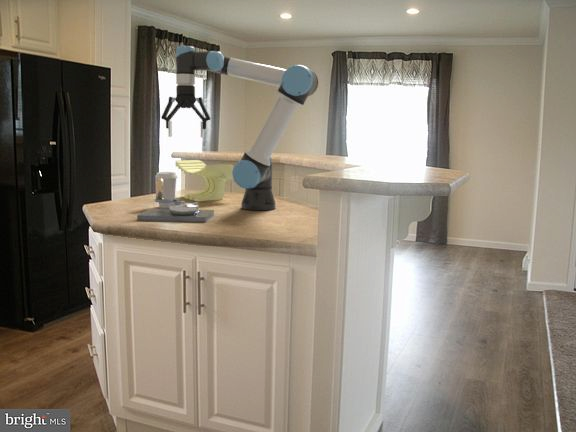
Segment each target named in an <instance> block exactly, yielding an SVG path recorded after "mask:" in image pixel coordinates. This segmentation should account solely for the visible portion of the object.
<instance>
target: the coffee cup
mask: <svg viewBox="0 0 576 432" xmlns="http://www.w3.org/2000/svg"><path fill="white" fill-rule="evenodd" d="M154 178H155V180H156V179H163V191H164V199H167V200H173V199H176V189H177V188H176V185H177V179H178V175H177V174H176V172H171V171H170V172H169V171H163V172H162V171H160V172H156V175H155V176H154ZM158 207H159V209H170V204H168V203H159V202H158Z"/></svg>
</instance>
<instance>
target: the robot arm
mask: <svg viewBox="0 0 576 432" xmlns="http://www.w3.org/2000/svg"><path fill="white" fill-rule="evenodd" d="M175 66H176V67H175V69H176V71H175V72H176V73H175V74H176V75H175V76H176V80H175V81H176V90H175V91H176V96H175V97H173V96H169V97H168V102H167V104H166V107H165V108H164V110H163V112H162V115H161V120H163V121H165V128H166V129H167V130H168V137H169V138H171V137H173V125H172V124H173V121H172V118H173V117H174V116H175V114H177V112H178V111H179V110H180V109H192V110H193V111H194V112H195V114H197V116H198V117H199V118H200V120H201V121H200V138H205V135H204V134H205V130H207V121H210V120H211V119H212V118H211V116H210V115H209V112H208V109H207V108H206V106H205V104H204V99H203V97H201V96H200V97H196V88H195V87H196V86H195V83H196V80H195V79H196V72H195V71H208V72H211V73H212V72H213V73H216V74H219V75H225V76H229V77H235V78H238V79H243V80H246V81H247V80H248V81H251V82H257V83H260V84H264V85H269V86H274V87H278V89H277V100H276V101H275V103H274V105H273V106H272V109H271V111H270V112H269V114H268V116H267V118H266V120H265V122H264V124H263V126H262V127H261V129H260V131H259V133H258V134H257V136H256V138H255V140H254V143H253V145H252V146H251V148H250V149H246V150H245V151H244V153H243V155H242V157H241V158H240V160H239V161H237V162H236V163H235V165H233V166H234V168H233V172H232V175H233V179H234V180H233V181H234V183H235V184H236V185H237V186H238V187H240V188H242V189H245V191H244V194H243V196H242V197H243V198H242V199H241V203H240V206H241V209H243V210H246V211H247V210H248V211H271V210H274V209H275V210H276V205H277V204H276V201H275V200H276V199H275V196H274V193H273V158H272V155H273V153H274V151H275V149H276V148H277V146H278V145H279V142H280V140H281V138H282V137H283V135H284V133H285V131H286V130H287V128H288V126H289V124H290V123H291V120H292V118H293V117H294V115H295V113H296V111H297V109H298V108H299V107H300V108H301V107H302V106H304V105H305V103H306V101H307V99H308V98H309V97H310V96H312V95H314V93H315V92H316V91H317V89H318V87H319V78H318V75H317V73H316V72H315V71H313V69H310V67H307V66H305V65H303V64H294V65H291V66H288V67H287V68H286V69H285V68H281V67H276V66H272V65H267V64H262V63H257V62H252V61H248V60H243V59H239V58H235V57H230V56H226V55H225V56H224V55H223V53H222V52H221V51H217V50H210V51H209V50H208V51H205V50H204V51H197V50H196V51H195V47H194V46H191V45H179V46H177V47H176V50H175ZM175 102H176V105H175V106H174V108H173V109H172V110H171V108H172V105H173V103H175ZM196 102H197V103H198V104H199V106H200V109H201V110H202V112H203V113H201V110H199V109H198V107H197V106H196V105H195V103H196ZM170 110H171V111H170ZM169 112H170V113H169Z"/></svg>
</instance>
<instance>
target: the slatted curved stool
mask: <svg viewBox="0 0 576 432" xmlns="http://www.w3.org/2000/svg"><path fill="white" fill-rule="evenodd" d="M234 166H235V165H234V164H232V163H224V164H223V163H220V164H206V163H205V162H204V161H202V160H200V159H187V160H185V159H184V160H183V159H182V160H175V167H178V169H179V170H180V171H181V172H183V174H187V175H192V176H197V177H198V176H201V177H202V178H203V180H204V182H205V188H204V189H203V190H202V191H199V192H196V193H195V192H194V193H188V194H187V193H186V194H185V195H184V197H183V199H186V200H190V201H195V202H206V201H207V202H209V201H217V200H219V201H221V200H222V199H223V198H224V196H225V192H226V185H227V181H234V179H233V175H232V172H233V168H234Z"/></svg>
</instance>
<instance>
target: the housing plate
mask: <svg viewBox="0 0 576 432" xmlns="http://www.w3.org/2000/svg"><path fill="white" fill-rule="evenodd" d="M214 215H215V210H214V209H199V213H197V214H191V215H176V214H171V213H170V208H149V209H146V210H145V211H142V212H140V213H139V214H137V216H136V217H137V220H139V222H141V221H146V222H151V221H152V222H176V223H177V222H178V223H181V222H182V223H183V222H184V223H207V222H208V221H209V220H210V219H211V218H212V217H213V216H214ZM137 220H136V221H137Z"/></svg>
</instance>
